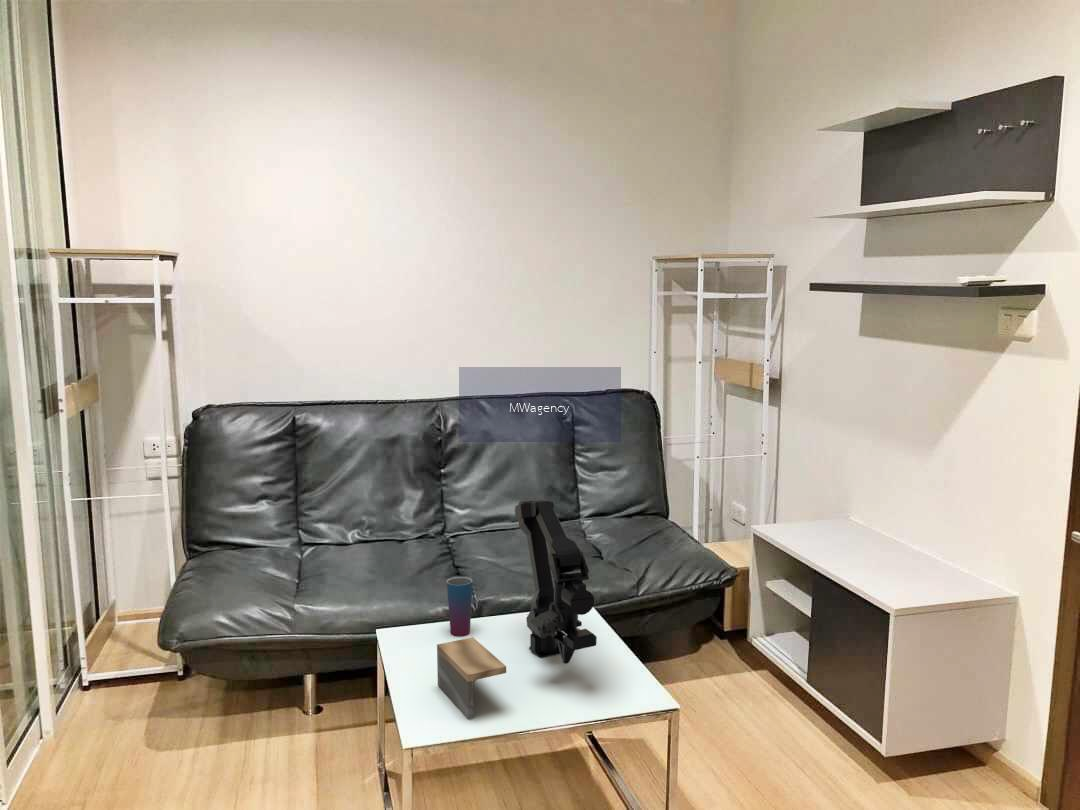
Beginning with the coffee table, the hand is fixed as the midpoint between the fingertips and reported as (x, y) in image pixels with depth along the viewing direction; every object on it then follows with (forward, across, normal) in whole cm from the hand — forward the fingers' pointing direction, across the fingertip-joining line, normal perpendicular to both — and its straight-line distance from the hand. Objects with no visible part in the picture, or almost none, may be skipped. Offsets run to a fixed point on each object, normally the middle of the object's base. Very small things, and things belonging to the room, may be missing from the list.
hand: (565, 663), depth 203 cm
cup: (+3, -34, -13) cm, 37 cm away
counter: (+3, 0, -24) cm, 25 cm away
